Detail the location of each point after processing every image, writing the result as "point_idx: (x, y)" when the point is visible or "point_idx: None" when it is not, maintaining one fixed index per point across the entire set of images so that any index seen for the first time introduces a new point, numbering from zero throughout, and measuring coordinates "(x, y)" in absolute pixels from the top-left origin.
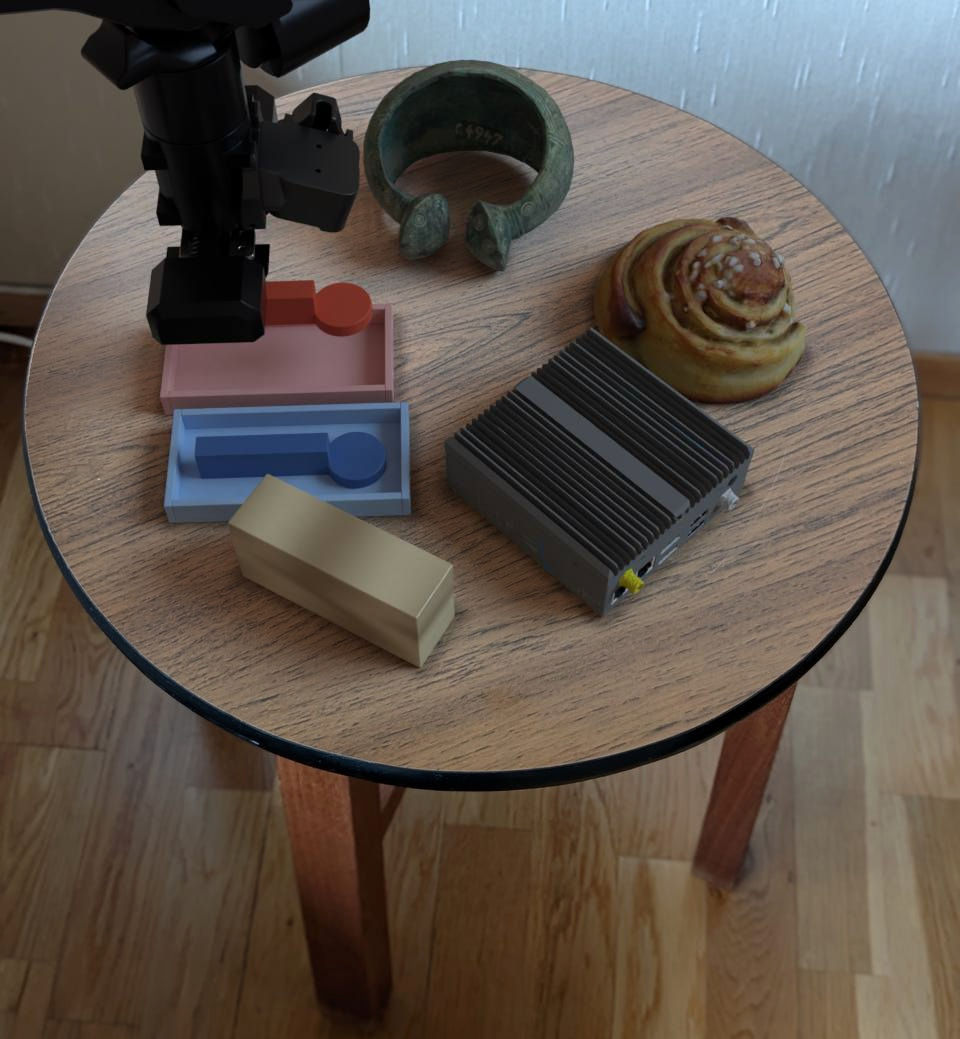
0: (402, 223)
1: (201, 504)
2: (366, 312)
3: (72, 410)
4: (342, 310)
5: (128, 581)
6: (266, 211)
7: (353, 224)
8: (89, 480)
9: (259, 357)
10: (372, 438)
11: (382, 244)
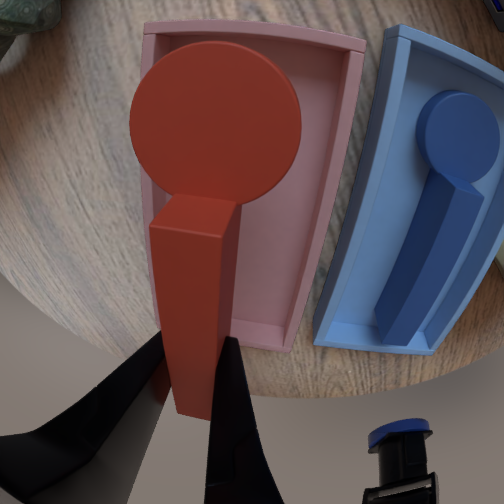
0: (5, 28)
1: (450, 329)
2: (254, 57)
3: (265, 380)
4: (234, 127)
5: (454, 355)
6: (37, 500)
7: (14, 103)
8: (347, 376)
9: None
10: (447, 104)
11: (37, 61)
